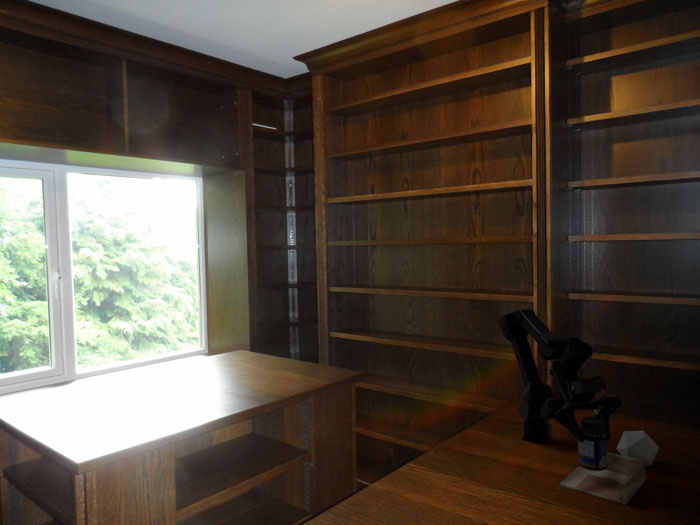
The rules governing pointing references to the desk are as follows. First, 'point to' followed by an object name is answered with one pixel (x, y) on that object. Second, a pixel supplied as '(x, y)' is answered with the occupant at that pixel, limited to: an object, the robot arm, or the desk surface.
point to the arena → (610, 479)
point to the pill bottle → (593, 445)
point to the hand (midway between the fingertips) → (595, 440)
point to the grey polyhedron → (638, 446)
